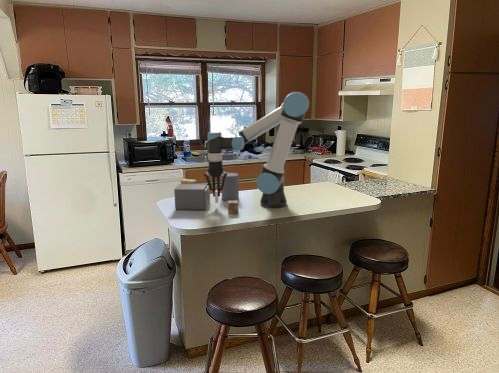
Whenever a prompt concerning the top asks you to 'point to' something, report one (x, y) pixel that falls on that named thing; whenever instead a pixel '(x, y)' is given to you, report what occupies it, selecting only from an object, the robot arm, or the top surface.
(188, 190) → the grey box
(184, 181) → the supplement box
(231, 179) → the container
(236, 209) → the walnut block
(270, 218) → the top surface
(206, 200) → the tray
